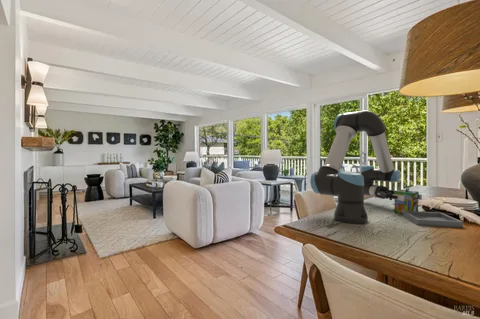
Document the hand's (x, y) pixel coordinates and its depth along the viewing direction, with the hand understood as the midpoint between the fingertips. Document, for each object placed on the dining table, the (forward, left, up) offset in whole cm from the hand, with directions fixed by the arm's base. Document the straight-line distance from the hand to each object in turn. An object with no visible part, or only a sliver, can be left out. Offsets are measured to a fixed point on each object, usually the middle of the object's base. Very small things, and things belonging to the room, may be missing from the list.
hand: (412, 197), depth 131 cm
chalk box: (-2, +3, -9) cm, 10 cm away
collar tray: (+2, -14, -8) cm, 16 cm away
